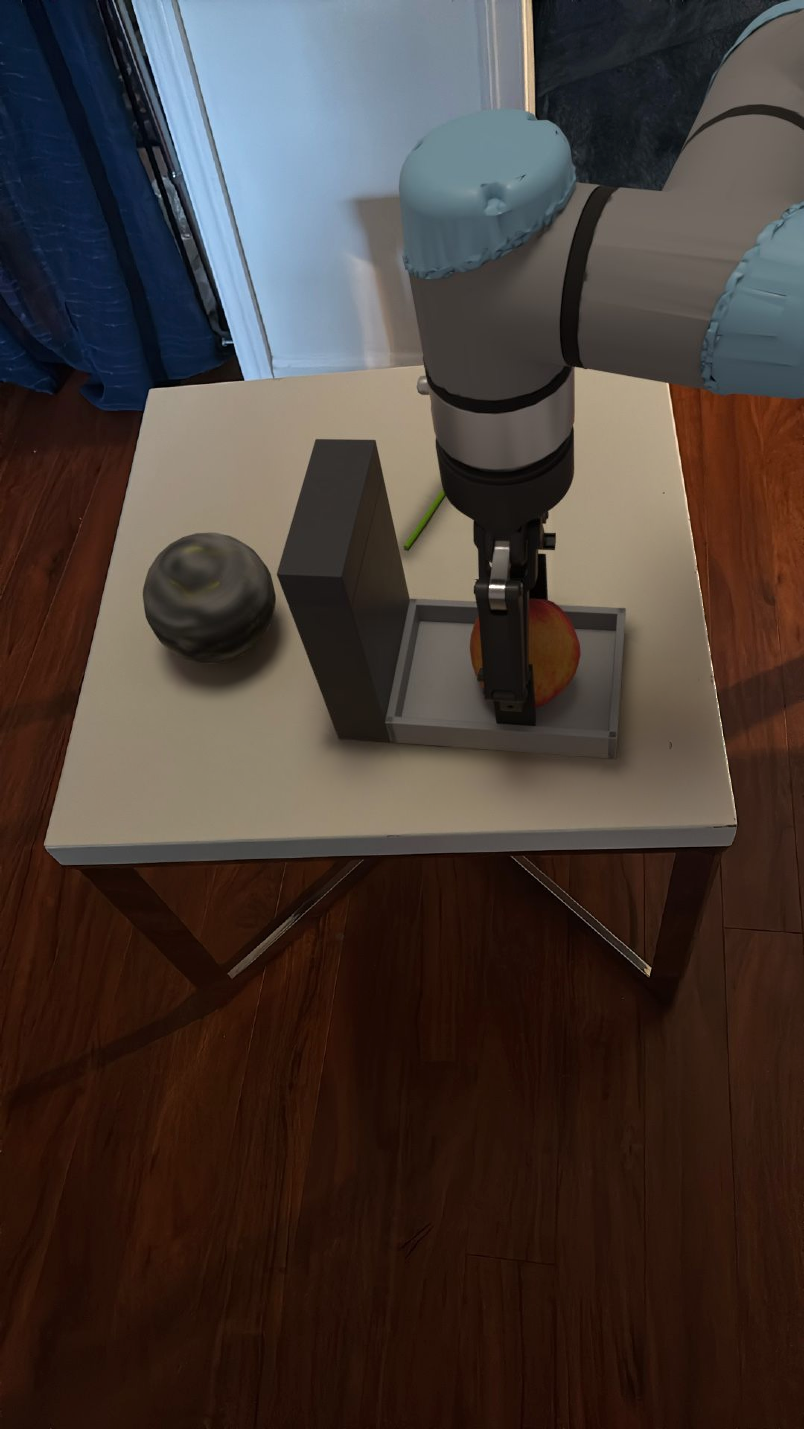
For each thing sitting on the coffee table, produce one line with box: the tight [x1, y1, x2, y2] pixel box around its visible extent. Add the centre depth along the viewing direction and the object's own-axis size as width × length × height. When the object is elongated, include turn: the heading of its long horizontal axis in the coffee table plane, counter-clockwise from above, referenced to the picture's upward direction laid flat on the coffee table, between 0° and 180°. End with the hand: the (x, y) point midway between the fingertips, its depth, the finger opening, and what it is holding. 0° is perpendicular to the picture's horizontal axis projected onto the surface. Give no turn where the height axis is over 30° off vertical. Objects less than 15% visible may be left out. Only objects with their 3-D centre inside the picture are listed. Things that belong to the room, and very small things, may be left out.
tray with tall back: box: [276, 438, 627, 760], centre depth 70 cm, size 20×11×19 cm, turn 80°
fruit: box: [470, 598, 581, 708], centre depth 73 cm, size 8×8×8 cm
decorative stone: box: [142, 532, 277, 665], centre depth 79 cm, size 10×10×10 cm
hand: (523, 666), depth 75 cm, fingers open, 9 cm apart
